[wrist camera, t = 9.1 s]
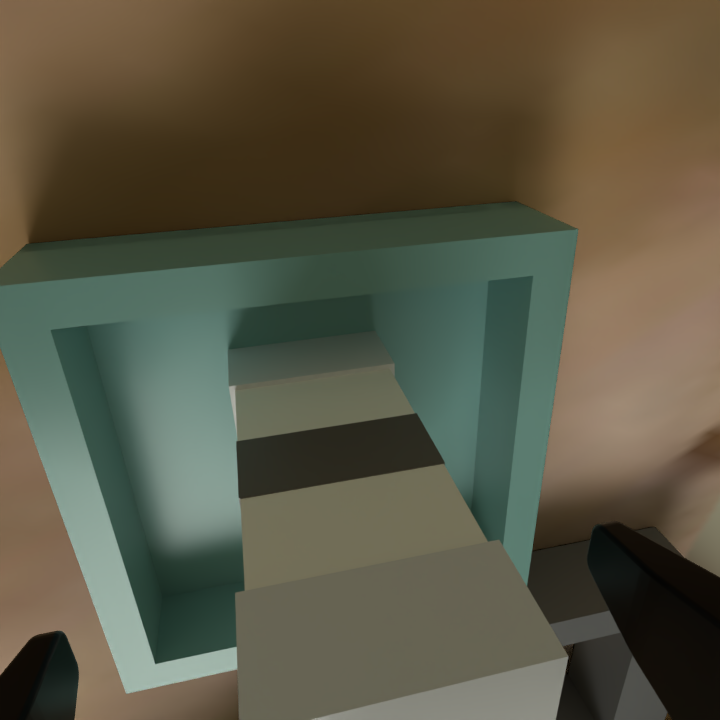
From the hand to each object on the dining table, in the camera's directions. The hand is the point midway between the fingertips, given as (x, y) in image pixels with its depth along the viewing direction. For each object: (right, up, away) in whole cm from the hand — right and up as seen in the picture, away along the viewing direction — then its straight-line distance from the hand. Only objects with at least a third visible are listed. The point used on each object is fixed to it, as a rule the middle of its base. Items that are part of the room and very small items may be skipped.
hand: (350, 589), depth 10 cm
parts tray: (-1, +2, +4) cm, 5 cm away
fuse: (-1, +2, +4) cm, 4 cm away
